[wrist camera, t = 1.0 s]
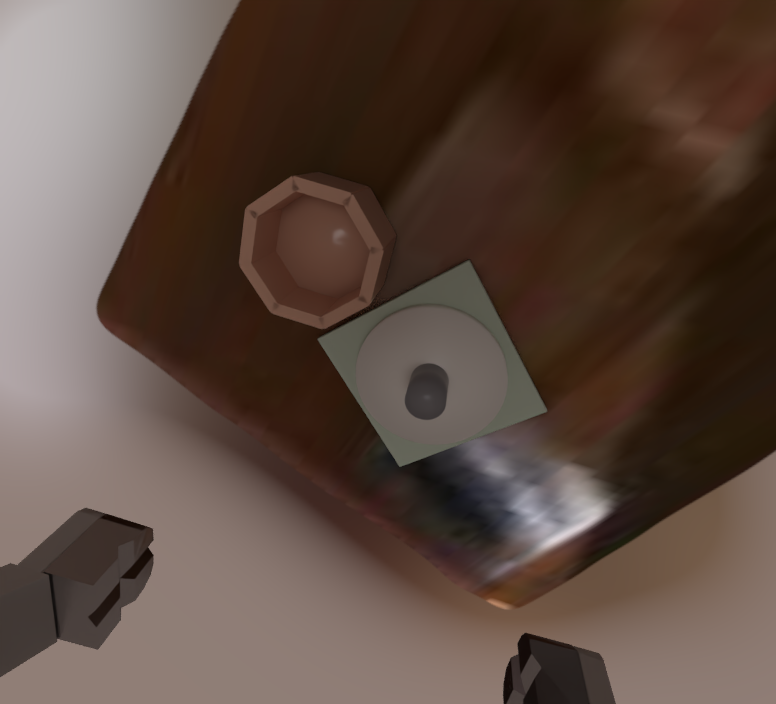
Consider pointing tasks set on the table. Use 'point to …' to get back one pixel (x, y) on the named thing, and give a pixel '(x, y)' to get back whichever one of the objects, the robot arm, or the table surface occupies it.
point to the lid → (432, 374)
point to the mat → (463, 294)
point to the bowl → (316, 248)
